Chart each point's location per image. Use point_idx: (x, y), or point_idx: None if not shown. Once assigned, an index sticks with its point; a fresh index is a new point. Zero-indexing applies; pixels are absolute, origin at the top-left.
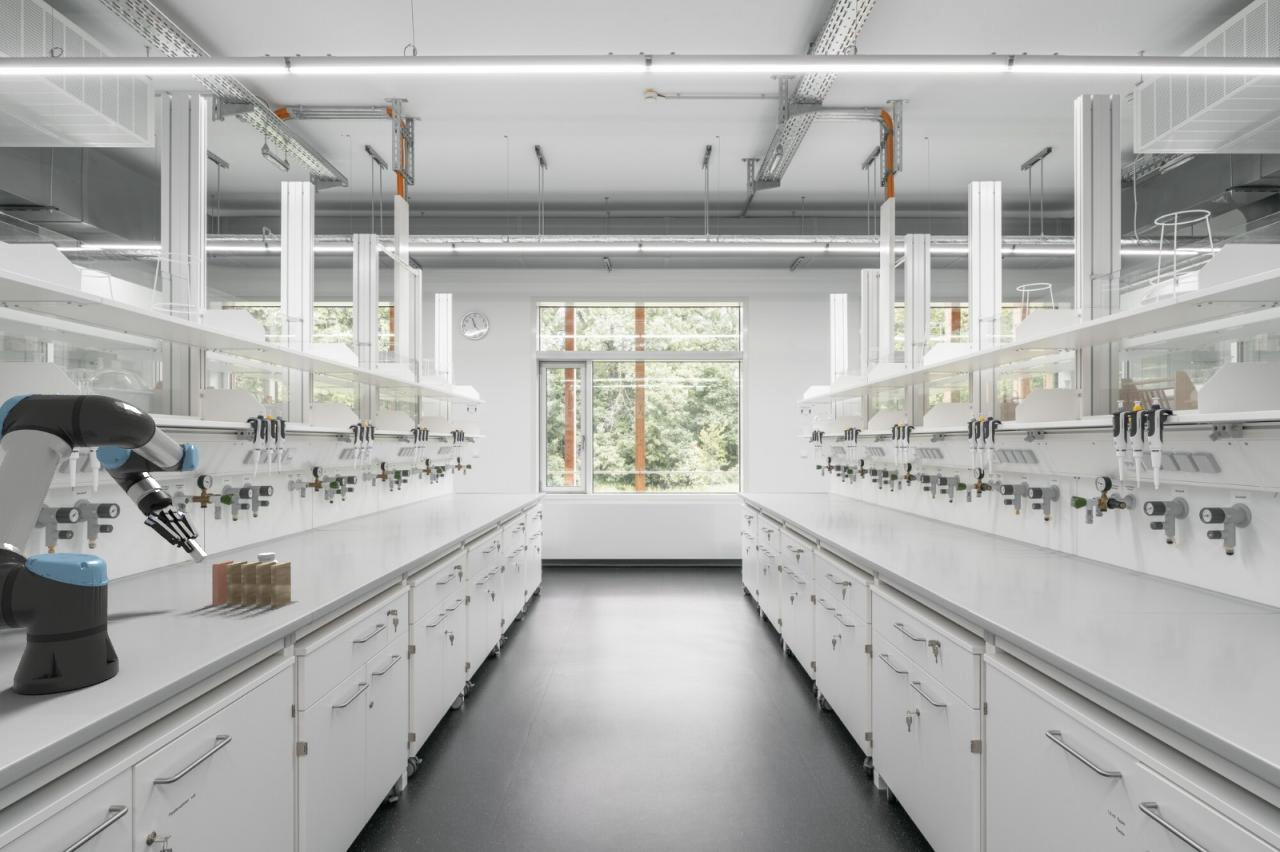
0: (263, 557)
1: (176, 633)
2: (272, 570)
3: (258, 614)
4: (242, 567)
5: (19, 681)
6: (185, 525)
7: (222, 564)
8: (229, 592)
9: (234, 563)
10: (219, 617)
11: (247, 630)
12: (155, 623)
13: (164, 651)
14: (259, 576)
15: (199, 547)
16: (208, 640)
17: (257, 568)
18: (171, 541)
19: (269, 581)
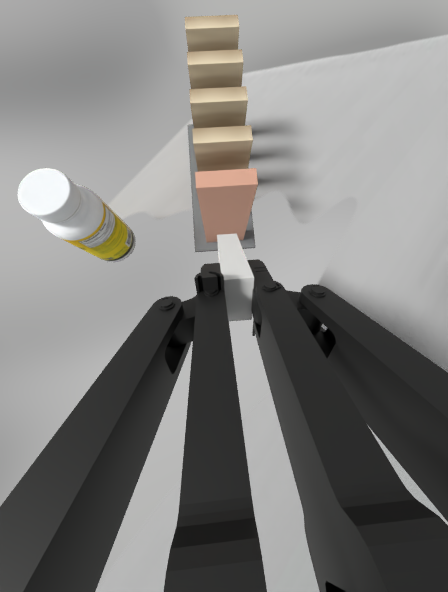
0: (75, 187)
1: (379, 158)
2: (237, 42)
3: (266, 131)
4: (246, 104)
5: None
6: (123, 470)
7: (236, 172)
8: None
9: (232, 134)
10: (296, 171)
11: (336, 85)
12: (353, 234)
13: (437, 107)
14: None
15: (224, 250)
16: (386, 96)
17: (241, 70)
18: (319, 333)
19: None
